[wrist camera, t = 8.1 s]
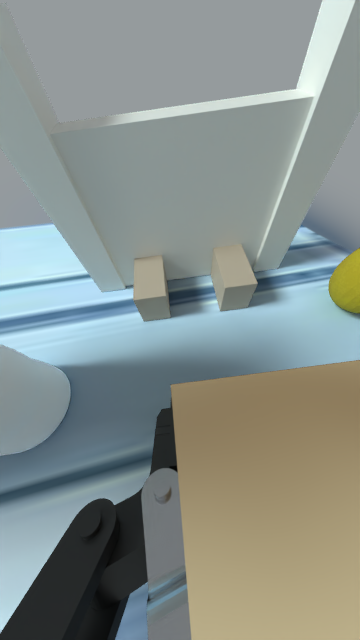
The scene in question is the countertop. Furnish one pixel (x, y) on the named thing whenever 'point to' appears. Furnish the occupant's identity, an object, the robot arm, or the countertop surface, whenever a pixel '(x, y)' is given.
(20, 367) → the water bottle
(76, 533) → the robot arm
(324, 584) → the tan wooden block
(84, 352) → the countertop surface
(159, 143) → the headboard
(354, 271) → the lemon
